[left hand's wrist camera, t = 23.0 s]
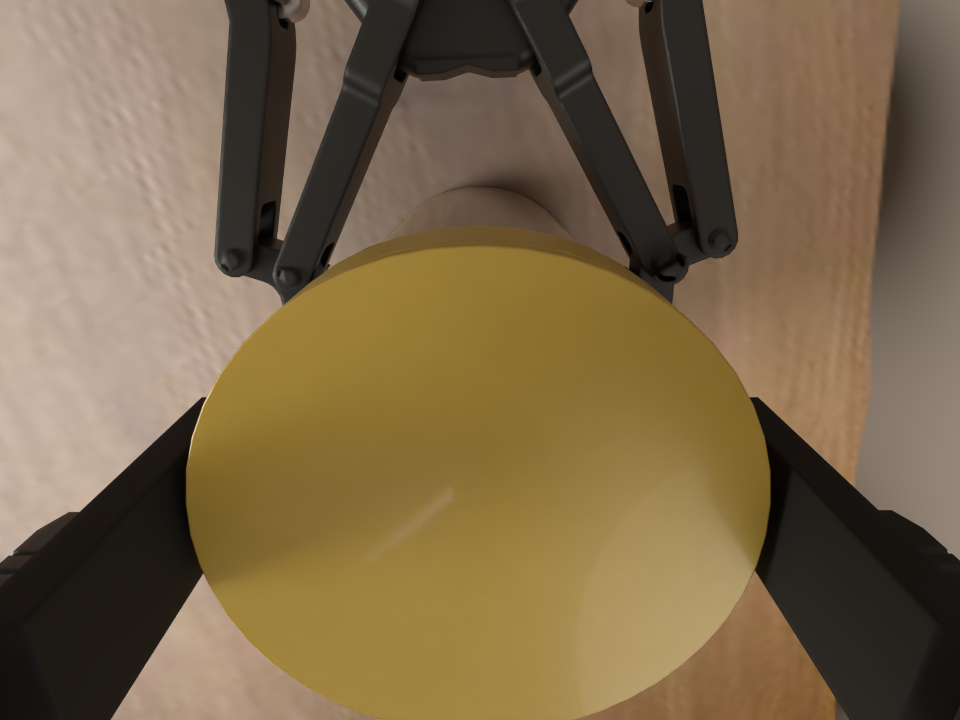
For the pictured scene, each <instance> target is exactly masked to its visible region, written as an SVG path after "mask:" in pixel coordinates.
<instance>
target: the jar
mask: <svg viewBox="0 0 960 720" xmlns="http://www.w3.org/2000/svg"><path fill="white" fill-rule="evenodd" d="M471 225H486V226H501V227H515V228H521V229H526V230H531V231H536V232H541V233H545V234H550V235H554V236H557V237H560V238H563V239H566V240H569V241H571V242H574V243H576V241H575V240H574V239H573V238H572V237H571V236H570V235H569V234H568V233H567V232H566V230H565V229H564V228H563V227H562V226H561V225H560V224H559V223H558V222H557V221H556V220H555V218H554V217H553V216H552V215H550V214H549V213H548V212H547V211H546V210H545V209H543V208H542V207H541V206H539V205H538V204H536V203H535V202H533V201H532V200H530V199H528V198H526V197H524V196H521V195H519V194H517V193H514V192H511V191H507V190H504V189H498V188H493V187H467V188H459V189H455V190H451V191H447V192H445V193H442V194H440V195H437V196H435V197H433V198H431V199H429V200H427V201H426V202H424V203H422V204H421V205H419V206H418V207H417V208H415V209H414V210H413V211H411V212H410V213H409V214H408V215H407V216H406V217H405V218H404V219H403V220H402V221H401V222H400V223H399V224H398V226H397V227H396V228H395V229H394V230H393V231H392V232H391V233H390V234H389V235H388V236H387V237H386V238H385V239H384V241H383V242H385V241H388V240H391V239H394V238H397V237H400V236H402V235H406V234H411V233H416V232H421V231H426V230H431V229H436V228H441V227H456V226H471Z"/></svg>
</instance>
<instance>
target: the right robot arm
mask: <svg viewBox="0 0 960 720" xmlns="http://www.w3.org/2000/svg"><path fill="white" fill-rule="evenodd" d="M345 1H346V3H347V4H348V5H349V7H350V8H351V9H352V11H353V12H354V13H355V15H356V16H357V17H358V19H359V20H360V21H361V23H362V25H361V28H360V31H359V33H358V36H357V39H356V41H355V44H354V47H353V49H352V52H351V54H350V57H349V60H348V62H347V65H346V68H345V72H344V79H343V87H342V90H341V93H340V95H339V98H338V100H337V103H336V106H335V108H334V111H333V114H332V116H331V119H330V121H329V124H328V127H327V129H326V132H325V135H324V137H323V140H322V142H321V145H320V148H319V150H318V153H317V156H316V158H315V161H314V163H313V166H312V169H311V171H310V174H309V176H308V179H307V182H306V184H305V187H304V190H303V192H302V195H301V197H300V200H299V203H298V205H297V208H296V211H295V213H294V216H293V218H292V221H291V224H290V226H289V229H288V232H287V234H286V237H285V239H284V241H282V240H279V239H277V232H278V223H279V213H280V203H281V194H282V184H283V175H284V165H285V156H286V146H287V137H288V127H289V118H290V108H291V99H292V89H293V80H294V70H295V60H296V32H295V24H294V23H296V22H299V21H301V20H302V19H304V18H305V16H306V15H307V13H308V11H309V8H310V0H225V4H226V8H227V12H228V16H229V20H230V24H229V39H228V54H227V70H226V85H225V100H224V115H223V130H222V146H221V161H220V176H219V191H218V206H217V222H216V237H215V252H214V257H215V263H216V265H217V266H218V268H219V270H221V271H222V272H223V273H224V274H226V275H228V276H230V277H240V276H243V275H244V276H247V277H250V278H254V279H257V280H260V281H263V282H266V283H268V284H270V285H271V286H273V287H274V288H275V289H276V290H277V292H278V293H279V295H280V297H281V300H282V305H284V304H285V303H287V302H288V301H289V300H290V299H291V298H292V297H294V296H295V295H296V294H297V293H298V292H299V291H301V290H302V289H303V288H304V287H305V286H306V285H308V284H309V283H310V282H312V281H313V280H314V279H316V278H317V277H319V276H320V275H322V274H323V273H324V272H325V271H326V270H327V269H328V268H329V267H330V264H328V262H329V260H330V258H331V255H332V253H333V250H334V248H335V246H336V243H337V241H338V238H339V236H340V234H341V231H342V229H343V226H344V224H345V222H346V219H347V217H348V214H349V212H350V209H351V207H352V205H353V202H354V200H355V197H356V195H357V193H358V190H359V188H360V185H361V183H362V181H363V178H364V176H365V173H366V171H367V169H368V166H369V164H370V161H371V159H372V157H373V154H374V152H375V149H376V147H377V145H378V142H379V140H380V137H381V135H382V132H383V130H384V128H385V125H386V123H387V120H388V118H389V116H390V113H391V111H392V109H393V107H394V106H395V104H396V103H397V101H398V99H399V97H400V95H401V92H402V90H403V88H404V85H405V83H406V80H407V78H408V76H409V75H411V76H413V77H417V78H419V79H420V80H421V81H435V80H446V79H449V78H452V77H455V76H458V75H461V74H464V73H467V72H471V73H475V74H479V75H483V76H487V77H491V78H503V77H516V76H517V74H519V73H522V72H524V71H526V70H528V69H529V71H530V73H531V75H532V76H533V78H534V80H535V82H536V84H537V86H538V88H539V90H540V92H541V93H542V95H543V96H544V98H545V99H546V100H547V102H548V103H549V105H550V107H551V109H552V111H553V113H554V115H555V117H556V119H557V121H558V122H559V124H560V126H561V128H562V130H563V132H564V134H565V136H566V138H567V140H568V142H569V144H570V146H571V147H572V149H573V151H574V153H575V155H576V157H577V159H578V161H579V163H580V165H581V167H582V169H583V171H584V172H585V174H586V176H587V178H588V180H589V182H590V184H591V186H592V188H593V190H594V192H595V194H596V196H597V197H598V199H599V201H600V203H601V205H602V207H603V209H604V211H605V213H606V215H607V217H608V219H609V221H610V222H611V224H612V226H613V228H614V230H615V232H616V234H617V236H618V238H619V240H620V242H621V244H622V246H623V247H624V249H625V251H626V253H627V255H628V257H629V258H630V265H629V269H628V268H627V267H625V268H627V269H628V270H630V271H631V272H632V273H634V274H635V275H637V276H638V277H639V278H641V279H642V280H644V281H645V282H646V283H648V284H649V285H650V286H651V287H653V288H654V289H655V290H656V291H657V292H658V293H659V294H661V295H662V296H663V297H664V298H665V299H666V300H667V301H669V302H670V303H671V304H672V300H673V288H674V284H676V283H678V282H679V281H681V280H682V279H683V278H684V277H685V275H686V273H687V272H688V267H689V265H691V264H694V263H696V262H699V261H702V260H704V259H707V258H709V257H712V258H723V257H725V256H727V255H729V254H730V253H731V252H732V251H733V250H734V249H735V247H736V244H737V242H738V231H737V224H736V218H735V211H734V205H733V198H732V191H731V185H730V178H729V172H728V165H727V159H726V152H725V146H724V139H723V133H722V126H721V120H720V113H719V107H718V100H717V94H716V87H715V81H714V74H713V67H712V61H711V54H710V48H709V41H708V35H707V28H706V22H705V15H704V9H703V2H702V0H625V1H626V2H627V3H628V4H630V5H631V6H634V7H639V33H640V40H641V47H642V52H643V57H644V63H645V68H646V73H647V78H648V84H649V89H650V94H651V99H652V104H653V110H654V115H655V120H656V125H657V130H658V136H659V141H660V146H661V151H662V156H663V162H664V167H665V172H666V177H667V183H668V188H669V193H670V198H671V203H672V209H673V214H674V219H675V223H673V224H671V225H668V226H666V224H665V222H664V220H663V218H662V216H661V213H660V211H659V209H658V207H657V205H656V203H655V201H654V199H653V197H652V195H651V193H650V191H649V189H648V187H647V185H646V183H645V181H644V178H643V176H642V174H641V172H640V170H639V168H638V166H637V164H636V162H635V160H634V158H633V156H632V154H631V152H630V150H629V148H628V146H627V143H626V141H625V139H624V137H623V135H622V133H621V131H620V129H619V127H618V125H617V123H616V121H615V119H614V117H613V115H612V113H611V111H610V108H609V106H608V104H607V102H606V100H605V98H604V96H603V94H602V92H601V90H600V88H599V86H598V84H597V82H596V80H595V77H594V75H593V72H592V66H591V62H590V59H589V57H588V55H587V53H586V50H585V48H584V46H583V44H582V42H581V40H580V38H579V36H578V34H577V32H576V30H575V28H574V26H573V24H572V22H571V19H570V17H569V14H570V13H571V11H572V9H573V8H574V6H575V5H576V3H577V1H578V0H345Z"/></svg>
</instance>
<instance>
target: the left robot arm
mask: <svg viewBox="0 0 960 720" xmlns="http://www.w3.org/2000/svg"><path fill="white" fill-rule="evenodd" d="M206 398H207V397H202V398H201V399H200V400H199V401H198V402H196V403H195V404H194V405H193V406H192V407H191V408H190V409H189V410H188V411H187V412H186V413H185V414H184V415H183V416H182V417H180V418H179V419H178V420H177V421H176V422H175V423H174V424H173V425H172V426H171V427H170V428H169V429H168V430H167V431H166V432H164V433H163V434H162V435H161V436H160V437H159V438H158V439H157V440H156V441H155V442H154V443H153V444H152V445H151V446H150V447H148V448H147V449H146V450H145V451H144V452H143V453H142V454H141V455H140V456H139V457H138V458H137V459H136V460H135V461H134V462H132V463H131V464H130V465H129V466H128V467H127V468H126V469H125V470H124V471H123V472H122V473H121V474H120V475H119V476H118V477H117V478H115V479H114V480H113V481H112V482H111V483H110V484H109V485H108V486H107V487H106V488H105V489H104V490H103V491H102V492H101V493H99V494H98V495H97V496H96V497H95V498H94V499H93V500H92V501H91V502H90V503H89V504H88V505H87V506H86V507H85V508H83V509H82V510H81V511H80V512H68V513H67V514H65V515H63V516H61V517H60V518H58V519H56V520H54V521H53V522H51V523H49V524H47V525H46V526H44V527H42V528H40V529H39V530H37V531H36V532H35V533H34V534H33V535H32V536H30V537H29V538H28V539H27V540H26V541H25V542H24V543H23V544H21V545H20V546H19V547H18V548H17V549H16V550H15V551H14V554H13V556H8V557H7V558H6V559H5V560H3V561H2V562H1V563H0V720H111V718H112V716H113V715H114V713H115V712H116V710H117V709H118V707H119V705H120V704H121V702H122V701H123V699H124V698H125V696H126V694H127V693H128V691H129V690H130V688H131V686H132V685H133V683H134V682H135V680H136V679H137V677H138V675H139V674H140V672H141V671H142V669H143V668H144V666H145V664H146V663H147V661H148V660H149V658H150V657H151V655H152V653H153V652H154V650H155V649H156V647H157V645H158V644H159V642H160V641H161V639H162V638H163V636H164V634H165V633H166V631H167V630H168V628H169V627H170V625H171V623H172V622H173V620H174V619H175V617H176V615H177V614H178V612H179V611H180V609H181V608H182V606H183V604H184V603H185V601H186V600H187V598H188V597H189V595H190V593H191V592H192V590H193V589H194V587H195V586H196V584H197V582H198V581H199V579H200V578H201V576H202V574H203V571H202V569H201V567H200V565H199V561H198V558H197V555H196V552H195V548H194V545H193V542H192V538H191V535H190V529H189V522H188V515H187V509H186V468H187V462H188V456H189V451H190V445H191V439H192V435H193V432H194V429H195V426H196V424H197V421H198V418H199V415H200V412H201V409H202V407H203V404H204V402H205V400H206ZM749 398H750V399H751V401H752V403H753V405H754V408H755V411H756V414H757V417H758V420H759V423H760V425H761V428H762V431H763V434H764V437H765V442H766V448H767V454H768V459H769V465H770V474H771V506H770V513H769V520H768V526H767V533H766V538H765V541H764V544H763V547H762V551H761V554H760V557H759V560H758V564H757V566H756V568H755V571H756V573H757V574H758V576H759V578H760V579H761V581H762V582H763V584H764V586H765V587H766V589H767V590H768V592H769V593H770V595H771V597H772V598H773V600H774V601H775V603H776V604H777V606H778V608H779V609H780V611H781V612H782V614H783V616H784V617H785V619H786V620H787V622H788V623H789V625H790V627H791V628H792V630H793V631H794V633H795V634H796V636H797V638H798V639H799V641H800V642H801V644H802V646H803V647H804V649H805V650H806V652H807V653H808V655H809V657H810V658H811V660H812V661H813V663H814V664H815V666H816V668H817V669H818V671H819V672H820V674H821V675H822V677H823V679H824V680H825V682H826V683H827V685H828V687H829V688H830V690H831V691H832V693H833V694H834V696H835V698H836V699H837V701H838V702H839V704H840V705H841V707H842V709H843V710H844V712H845V713H846V715H847V716H848V718H849V720H960V560H959V559H957V558H956V557H955V556H954V555H953V554H948V552H947V549H946V548H945V547H944V546H943V545H942V544H940V543H939V542H938V541H937V540H936V539H935V538H934V537H932V536H931V535H930V534H929V533H928V532H927V531H926V530H925V529H923V528H922V527H920V526H918V525H917V524H915V523H913V522H911V521H909V520H908V519H906V518H904V517H902V516H901V515H899V514H897V513H895V512H894V511H892V510H878V509H876V508H875V507H874V506H873V505H872V504H871V503H870V502H869V501H868V500H867V499H866V498H865V497H864V496H863V495H862V494H860V493H859V492H858V491H857V490H856V489H855V488H854V487H853V486H852V485H851V484H850V483H849V482H848V481H847V480H846V479H845V478H843V477H842V476H841V475H840V474H839V473H838V472H837V471H836V470H835V469H834V468H833V467H832V466H831V465H830V464H829V463H827V462H826V461H825V460H824V459H823V458H822V457H821V456H820V455H819V454H818V453H817V452H816V451H815V450H814V449H813V448H811V447H810V446H809V445H808V444H807V443H806V442H805V441H804V440H803V439H802V438H801V437H800V436H799V435H798V434H797V433H795V432H794V431H793V430H792V429H791V428H790V427H789V426H788V425H787V424H786V423H785V422H784V421H783V420H782V419H781V418H780V417H778V416H777V415H776V414H775V413H774V412H773V411H772V410H771V409H770V408H769V407H768V406H767V405H766V404H765V403H764V402H762V401H761V400H760V399H759V398H758V397H749Z"/></svg>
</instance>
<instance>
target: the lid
mask: <svg viewBox="0 0 960 720" xmlns="http://www.w3.org/2000/svg"><path fill="white" fill-rule="evenodd" d="M770 506H771V474H770V465H769V459H768V454H767V448H766V442H765V437H764V434H763V431H762V428H761V425H760V423H759V420H758V417H757V414H756V411H755V408H754V405H753V403H752V401H751V399H750V398H749V396H748V394H747V392H746V390H745V388H744V387H743V385H742V383H741V381H740V379H739V377H738V375H737V374H736V372H735V371H734V369H733V368H732V367H731V365H730V364H729V363H728V362H727V360H726V359H725V358H724V356H723V355H722V354H721V352H720V351H719V350H718V349H717V347H716V346H715V345H714V343H713V342H712V341H711V340H710V339H709V338H708V337H707V336H706V335H705V334H703V333H702V332H701V331H700V330H699V329H698V328H697V327H696V326H695V325H694V324H693V323H692V322H691V321H690V320H689V319H688V318H687V317H686V316H685V315H684V314H682V313H681V312H680V311H679V310H678V309H677V308H676V307H674V306H673V305H672V304H671V303H670V302H669V301H667V300H666V299H665V298H664V297H663V296H662V295H661V294H659V293H658V292H657V291H656V290H655V289H654V288H653V287H651V286H650V285H649V284H648V283H646V282H645V281H644V280H642V279H641V278H639V277H638V276H637V275H635V274H634V273H632V272H631V271H630V270H628V269H627V268H625V267H624V266H623V265H621V264H620V263H618V262H616V261H614V260H612V259H610V258H608V257H606V256H604V255H602V254H600V253H598V252H596V251H594V250H592V249H590V248H588V247H586V246H583V245H580V244H577V243H574V242H571V241H569V240H566V239H563V238H560V237H557V236H554V235H550V234H545V233H541V232H536V231H531V230H526V229H521V228H515V227H501V226H486V225H471V226H456V227H441V228H436V229H431V230H426V231H421V232H416V233H411V234H406V235H402V236H400V237H397V238H394V239H391V240H388V241H385V242H382V243H379V244H377V245H374V246H371V247H368V248H366V249H364V250H363V251H361V252H359V253H357V254H355V255H353V256H351V257H349V258H347V259H345V260H343V261H341V262H339V263H337V264H336V265H334V266H333V267H331V268H330V269H329V270H327V271H326V272H324V273H323V274H322V275H320V276H319V277H317V278H316V279H314V280H313V281H312V282H310V283H309V284H308V285H306V286H305V287H304V288H303V289H302V290H301V291H299V292H298V293H297V294H296V295H295V296H294V297H292V298H291V299H290V300H289V301H288V302H287V303H285V304H284V305H283V306H282V307H281V308H280V309H278V310H277V311H276V312H275V313H274V314H273V315H272V316H271V317H269V318H268V319H267V320H266V321H265V322H264V323H263V324H262V325H261V326H260V327H259V328H258V329H257V330H256V331H255V332H254V333H253V334H252V335H251V336H249V337H248V338H247V339H246V340H245V341H244V342H243V344H242V345H241V346H240V348H239V349H238V350H237V351H236V353H235V354H234V355H233V357H232V358H231V359H230V361H229V362H228V363H227V364H226V366H225V367H224V368H223V370H222V371H221V372H220V374H219V376H218V378H217V380H216V382H215V383H214V385H213V387H212V389H211V391H210V393H209V394H208V396H207V398H206V400H205V402H204V404H203V407H202V409H201V412H200V415H199V418H198V421H197V424H196V426H195V429H194V432H193V435H192V439H191V445H190V451H189V456H188V462H187V468H186V509H187V515H188V522H189V529H190V535H191V538H192V542H193V545H194V548H195V552H196V555H197V558H198V561H199V565H200V567H201V569H202V571H203V573H204V575H205V577H206V579H207V581H208V584H209V586H210V588H211V590H212V592H213V594H214V595H215V597H216V598H217V600H218V601H219V603H220V604H221V606H222V608H223V609H224V611H225V612H226V614H227V615H228V617H229V618H230V620H231V621H232V622H233V623H234V624H235V625H236V627H237V628H238V629H239V630H240V631H241V632H242V634H243V635H244V636H245V637H246V638H247V639H248V641H249V642H250V643H251V644H252V645H253V646H255V647H256V648H257V649H258V650H259V651H260V652H261V653H262V654H263V655H264V656H265V657H266V658H268V659H269V660H270V661H271V662H272V663H273V664H274V665H276V666H277V667H278V668H280V669H281V670H283V671H284V672H285V673H287V674H288V675H289V676H291V677H292V678H294V679H295V680H296V681H298V682H299V683H301V684H303V685H304V686H306V687H308V688H310V689H311V690H313V691H315V692H317V693H318V694H320V695H322V696H323V697H325V698H327V699H330V700H332V701H334V702H336V703H339V704H341V705H343V706H345V707H347V708H350V709H352V710H354V711H357V712H360V713H363V714H366V715H369V716H372V717H375V718H378V719H381V720H576V719H579V718H582V717H585V716H588V715H591V714H594V713H597V712H600V711H603V710H605V709H607V708H610V707H612V706H614V705H616V704H619V703H621V702H623V701H625V700H628V699H630V698H632V697H634V696H635V695H637V694H639V693H640V692H642V691H644V690H646V689H647V688H649V687H651V686H653V685H654V684H656V683H658V682H659V681H661V680H662V679H663V678H665V677H666V676H668V675H669V674H670V673H672V672H673V671H674V670H676V669H677V668H679V667H680V666H681V665H683V664H684V663H685V662H686V661H687V660H688V659H689V658H691V657H692V656H693V655H694V654H695V653H696V652H697V651H698V650H699V649H700V648H701V647H703V646H704V645H705V644H706V643H707V642H708V640H709V639H710V638H711V637H712V636H713V635H714V633H715V632H716V631H717V630H718V629H719V628H720V626H721V625H722V624H723V623H724V622H725V621H726V619H727V618H728V616H729V615H730V613H731V612H732V610H733V609H734V607H735V606H736V604H737V603H738V601H739V600H740V598H741V597H742V595H743V594H744V591H745V589H746V587H747V585H748V583H749V581H750V579H751V577H752V575H753V573H754V570H755V568H756V566H757V564H758V560H759V557H760V554H761V551H762V547H763V544H764V541H765V538H766V533H767V526H768V520H769V513H770Z"/></svg>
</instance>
